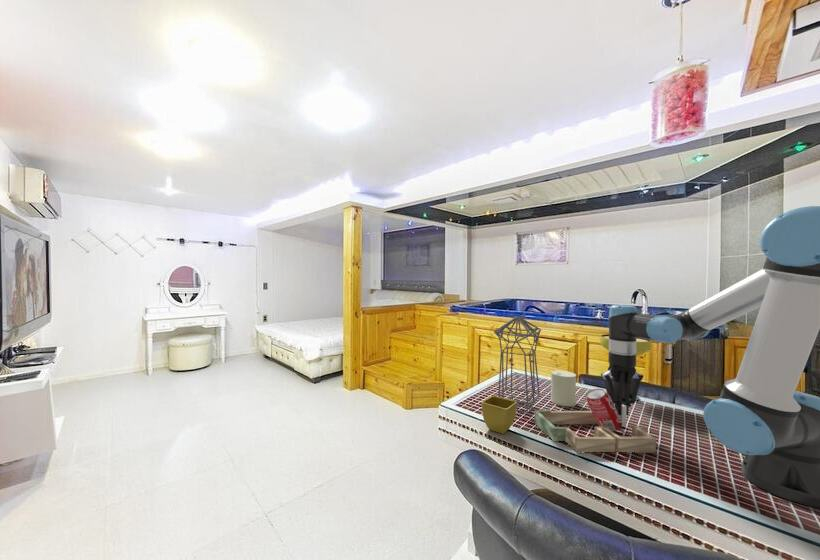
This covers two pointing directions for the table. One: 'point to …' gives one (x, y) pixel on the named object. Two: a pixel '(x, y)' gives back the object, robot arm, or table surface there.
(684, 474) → the table surface
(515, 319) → the geometric lantern
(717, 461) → the table surface
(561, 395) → the can
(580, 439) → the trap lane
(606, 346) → the cocktail glass
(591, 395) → the soda can
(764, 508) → the table surface
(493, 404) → the flower pot
